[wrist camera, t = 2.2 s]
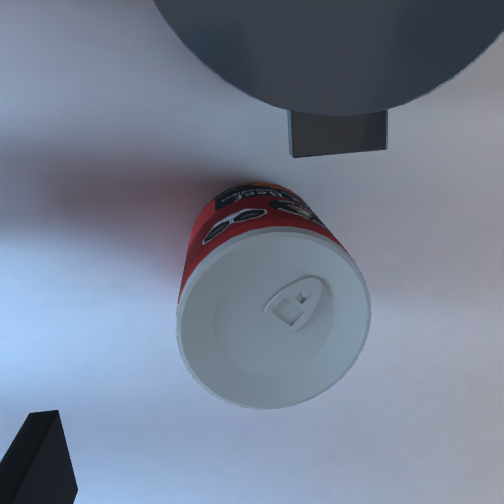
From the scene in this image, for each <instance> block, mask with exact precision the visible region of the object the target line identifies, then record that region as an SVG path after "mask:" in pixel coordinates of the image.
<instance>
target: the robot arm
mask: <svg viewBox="0 0 504 504" xmlns="http://www.w3.org/2000/svg"><path fill="white" fill-rule="evenodd" d="M77 492H78V487H77V483H76V479H75V475H74V471H73V467H72V463H71V459H70V455H69V451H68V447H67V443H66V439H65V435H64V431H63V427H62V423H61V419H60V415H59V411H58V410H53V411H44V412H35V413H29V415H28V417H27V418H26V420H25V422H24V423H23V425H22V427H21V428H20V430H19V432H18V434H17V435H16V437H15V439H14V440H13V442H12V444H11V445H10V447H9V449H8V450H7V452H6V454H5V455H4V457H3V459H2V461H1V462H0V504H73V503H74V500H75V497H76V494H77Z"/></svg>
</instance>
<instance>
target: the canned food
mask: <svg viewBox="0 0 504 504" xmlns="http://www.w3.org/2000/svg"><path fill="white" fill-rule="evenodd" d="M370 320H371V305H370V296H369V293H368V289H367V286H366V283H365V280H364V278H363V276H362V274H361V272H360V270H359V269H358V267H357V265H356V263H355V261H354V260H353V259H352V258H351V256H350V255H349V254H348V252H347V251H346V250H345V248H344V247H343V246H342V245H341V244H340V243H339V241H338V240H337V239H336V238H335V237H334V236H333V234H332V233H331V232H330V231H329V230H328V229H327V227H326V226H325V225H324V224H323V223H322V222H321V221H320V219H319V218H318V217H317V216H316V215H315V214H314V212H313V211H312V210H311V209H310V208H309V207H308V205H307V204H306V203H305V202H304V201H303V200H302V199H301V198H300V197H299V196H297V195H296V194H295V193H293V192H292V191H290V190H288V189H286V188H284V187H281V186H279V185H275V184H270V183H265V182H257V183H247V184H242V185H238V186H235V187H233V188H231V189H228V190H226V191H224V192H223V193H221V194H220V195H218V196H217V197H215V198H214V199H213V200H212V201H211V202H210V203H209V204H208V205H207V206H206V207H205V208H204V209H203V211H202V212H201V213H200V215H199V216H198V218H197V220H196V222H195V224H194V227H193V229H192V232H191V237H190V241H189V246H188V252H187V257H186V262H185V267H184V272H183V277H182V283H181V288H180V293H179V298H178V307H177V312H176V333H177V341H178V346H179V351H180V355H181V357H182V359H183V361H184V363H185V365H186V368H187V370H188V371H189V372H190V374H191V375H192V376H193V377H194V379H195V380H196V381H197V383H198V384H200V385H201V386H202V387H203V388H204V389H206V390H207V391H208V392H209V393H210V394H212V395H214V396H216V397H218V398H219V399H221V400H223V401H225V402H228V403H231V404H234V405H237V406H240V407H245V408H252V409H278V408H283V407H288V406H293V405H296V404H299V403H302V402H304V401H307V400H309V399H312V398H314V397H316V396H317V395H319V394H321V393H322V392H324V391H326V390H328V389H329V388H330V387H331V386H332V385H334V384H335V383H336V382H337V381H339V380H340V379H341V378H342V377H343V376H344V375H345V374H346V372H347V371H348V370H349V369H350V368H351V367H352V365H353V364H354V363H355V361H356V359H357V358H358V356H359V354H360V352H361V351H362V349H363V347H364V344H365V341H366V338H367V335H368V333H369V327H370Z"/></svg>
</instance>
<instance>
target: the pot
mask: <svg viewBox="0 0 504 504" xmlns="http://www.w3.org/2000/svg"><path fill="white" fill-rule="evenodd" d="M153 2H154V3H155V5H156V7H157V8H158V10H159V12H160V13H161V15H162V17H163V18H164V20H165V21H166V23H167V24H168V25H169V26H170V28H171V29H172V30H173V32H174V33H175V34H176V36H177V37H178V38H179V39H180V41H181V42H182V43H183V45H184V46H185V47H186V48H187V49H188V50H189V51H190V52H191V53H192V54H193V55H194V56H195V57H196V58H197V59H198V60H199V61H200V62H201V63H202V64H203V65H204V66H205V67H207V68H208V69H209V70H210V71H212V72H213V73H214V74H216V75H217V76H218V77H219V78H221V79H222V80H223V81H225V82H226V83H228V84H229V85H231V86H233V87H234V88H236V89H238V90H239V91H241V92H243V93H245V94H246V95H248V96H250V97H252V98H255V99H257V100H259V101H262V102H264V103H267V104H269V105H271V106H274V107H278V108H282V109H286V110H287V116H288V135H289V153H290V155H291V156H292V157H293V158H301V157H312V156H323V155H334V154H345V153H356V152H367V151H378V150H386V149H387V139H388V109H390V108H393V107H397V106H400V105H404V104H406V103H408V102H410V101H413V100H415V99H417V98H419V97H422V96H424V95H426V94H428V93H430V92H432V91H433V90H435V89H437V88H438V87H440V86H442V85H443V84H445V83H447V82H448V81H450V80H452V79H453V78H454V77H456V76H457V75H458V74H460V73H461V72H462V71H463V70H465V69H466V68H467V67H468V66H470V65H471V64H472V63H474V62H475V61H476V60H477V59H478V58H479V57H480V56H481V55H482V54H483V53H484V52H485V51H486V50H487V49H488V48H489V47H490V46H491V45H492V44H493V43H494V42H495V41H496V40H497V39H498V38H499V36H500V35H501V34H502V33H503V32H504V0H153Z"/></svg>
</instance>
